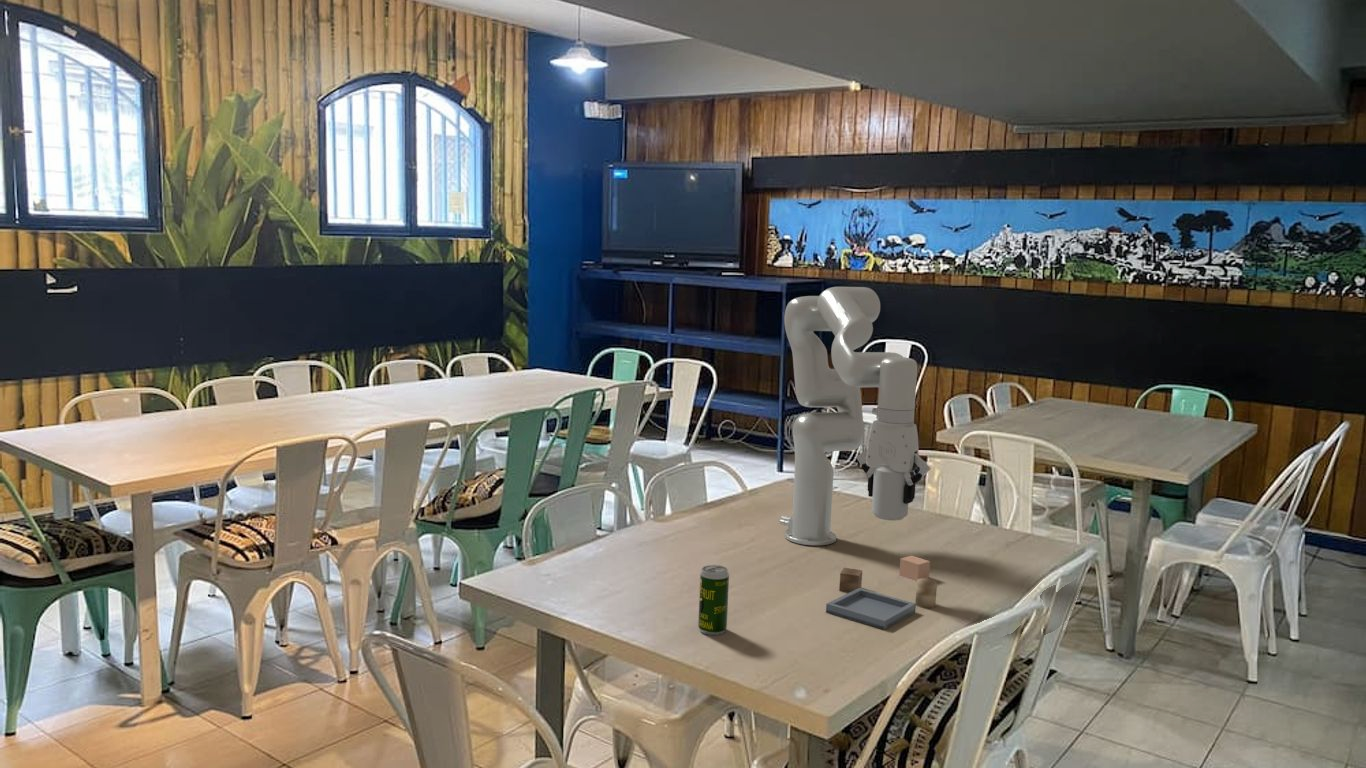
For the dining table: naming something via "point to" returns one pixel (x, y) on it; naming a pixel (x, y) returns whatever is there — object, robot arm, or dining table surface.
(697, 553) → the dining table surface
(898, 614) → the tray
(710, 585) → the green drink can
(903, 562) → the terracotta block
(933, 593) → the cork cylinder
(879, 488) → the can
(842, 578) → the walnut block
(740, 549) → the dining table surface
